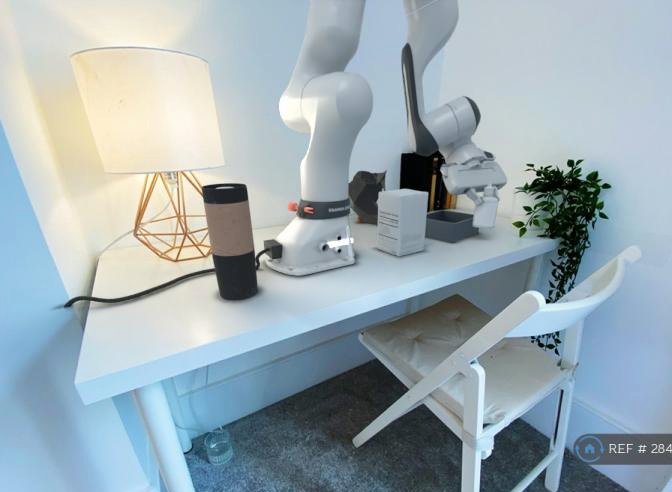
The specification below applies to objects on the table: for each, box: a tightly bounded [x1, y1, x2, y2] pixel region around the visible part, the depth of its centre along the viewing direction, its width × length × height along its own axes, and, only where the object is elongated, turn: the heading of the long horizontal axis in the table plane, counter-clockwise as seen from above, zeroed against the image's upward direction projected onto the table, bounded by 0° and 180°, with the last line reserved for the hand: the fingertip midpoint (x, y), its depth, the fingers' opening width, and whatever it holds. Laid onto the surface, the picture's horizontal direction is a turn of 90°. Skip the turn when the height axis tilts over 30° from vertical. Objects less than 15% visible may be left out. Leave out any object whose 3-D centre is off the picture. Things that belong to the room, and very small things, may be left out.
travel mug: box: [201, 182, 259, 301], centre depth 62 cm, size 8×8×20 cm
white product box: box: [376, 188, 429, 258], centre depth 87 cm, size 9×9×15 cm
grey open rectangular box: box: [425, 209, 480, 244], centre depth 103 cm, size 15×13×5 cm
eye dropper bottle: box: [472, 182, 499, 229], centre depth 93 cm, size 4×6×12 cm
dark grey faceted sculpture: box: [348, 169, 388, 226], centre depth 115 cm, size 14×15×18 cm
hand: (488, 203), depth 92 cm, fingers closed on eye dropper bottle, 5 cm apart
